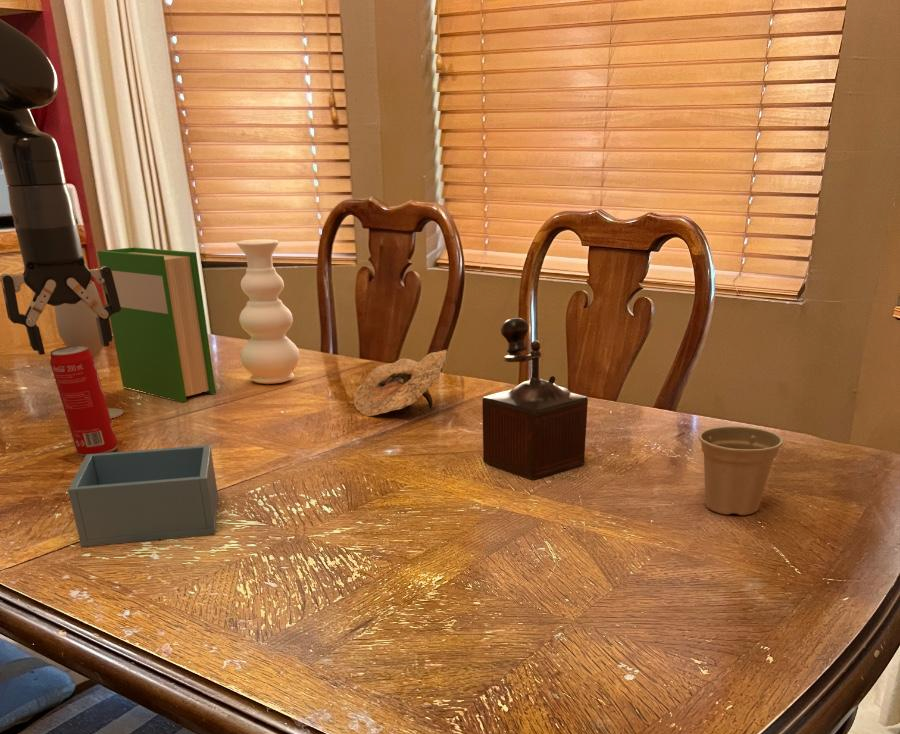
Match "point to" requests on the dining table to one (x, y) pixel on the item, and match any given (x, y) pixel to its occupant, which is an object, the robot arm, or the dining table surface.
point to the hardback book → (160, 322)
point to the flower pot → (737, 467)
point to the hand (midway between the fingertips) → (73, 349)
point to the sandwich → (398, 384)
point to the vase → (265, 317)
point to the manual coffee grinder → (533, 418)
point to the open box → (144, 495)
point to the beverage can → (83, 399)
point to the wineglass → (82, 328)
